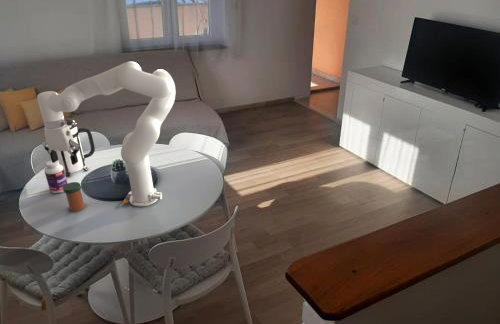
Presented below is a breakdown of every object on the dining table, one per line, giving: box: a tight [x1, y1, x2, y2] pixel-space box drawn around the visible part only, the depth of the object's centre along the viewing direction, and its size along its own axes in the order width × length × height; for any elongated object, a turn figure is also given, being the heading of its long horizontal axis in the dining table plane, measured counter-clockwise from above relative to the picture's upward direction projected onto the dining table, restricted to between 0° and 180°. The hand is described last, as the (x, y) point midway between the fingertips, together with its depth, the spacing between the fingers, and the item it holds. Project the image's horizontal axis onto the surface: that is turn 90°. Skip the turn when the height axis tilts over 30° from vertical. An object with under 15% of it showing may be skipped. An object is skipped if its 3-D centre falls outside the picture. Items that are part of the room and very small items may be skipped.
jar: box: [65, 189, 85, 212], centre depth 176 cm, size 6×6×10 cm
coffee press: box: [55, 117, 96, 178], centre depth 205 cm, size 17×16×30 cm
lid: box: [63, 181, 82, 194], centre depth 174 cm, size 7×7×2 cm
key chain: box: [118, 190, 132, 208], centre depth 183 cm, size 13×4×2 cm, turn 172°
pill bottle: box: [44, 159, 69, 194], centre depth 190 cm, size 8×8×14 cm
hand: (65, 162), depth 168 cm, fingers open, 9 cm apart
